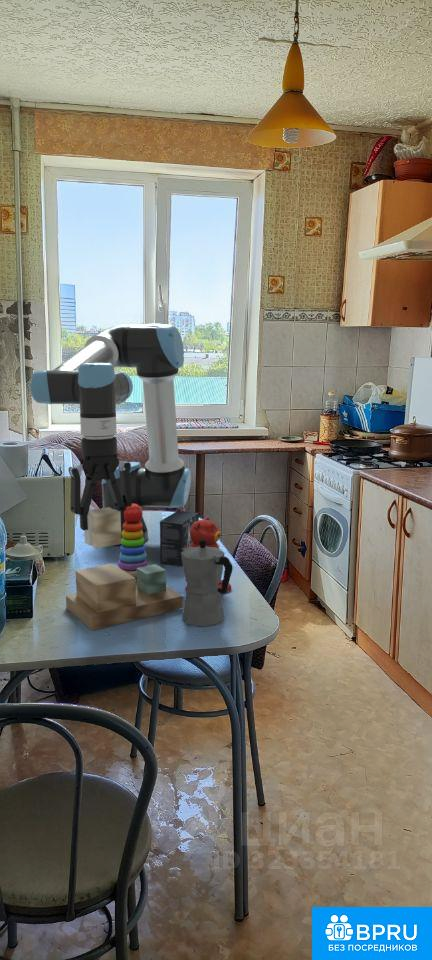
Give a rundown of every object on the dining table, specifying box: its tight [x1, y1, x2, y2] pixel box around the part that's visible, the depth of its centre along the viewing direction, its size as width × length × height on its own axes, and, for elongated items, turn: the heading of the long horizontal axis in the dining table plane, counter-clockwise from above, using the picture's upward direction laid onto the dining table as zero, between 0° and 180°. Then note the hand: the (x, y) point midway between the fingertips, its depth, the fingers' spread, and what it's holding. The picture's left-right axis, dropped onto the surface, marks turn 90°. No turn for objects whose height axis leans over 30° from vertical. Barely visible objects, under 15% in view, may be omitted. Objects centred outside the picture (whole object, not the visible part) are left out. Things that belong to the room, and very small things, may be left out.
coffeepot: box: [181, 539, 234, 627], centre depth 149 cm, size 15×9×18 cm, turn 43°
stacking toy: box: [117, 504, 148, 579], centre depth 179 cm, size 8×8×19 cm
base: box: [65, 563, 184, 631], centre depth 157 cm, size 22×15×9 cm
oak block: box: [88, 507, 122, 549], centre depth 152 cm, size 6×6×7 cm
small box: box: [159, 510, 200, 567], centre depth 193 cm, size 13×7×12 cm, turn 161°
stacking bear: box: [184, 517, 232, 593], centre depth 167 cm, size 11×10×18 cm
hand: (103, 541), depth 152 cm, fingers closed on oak block, 6 cm apart
